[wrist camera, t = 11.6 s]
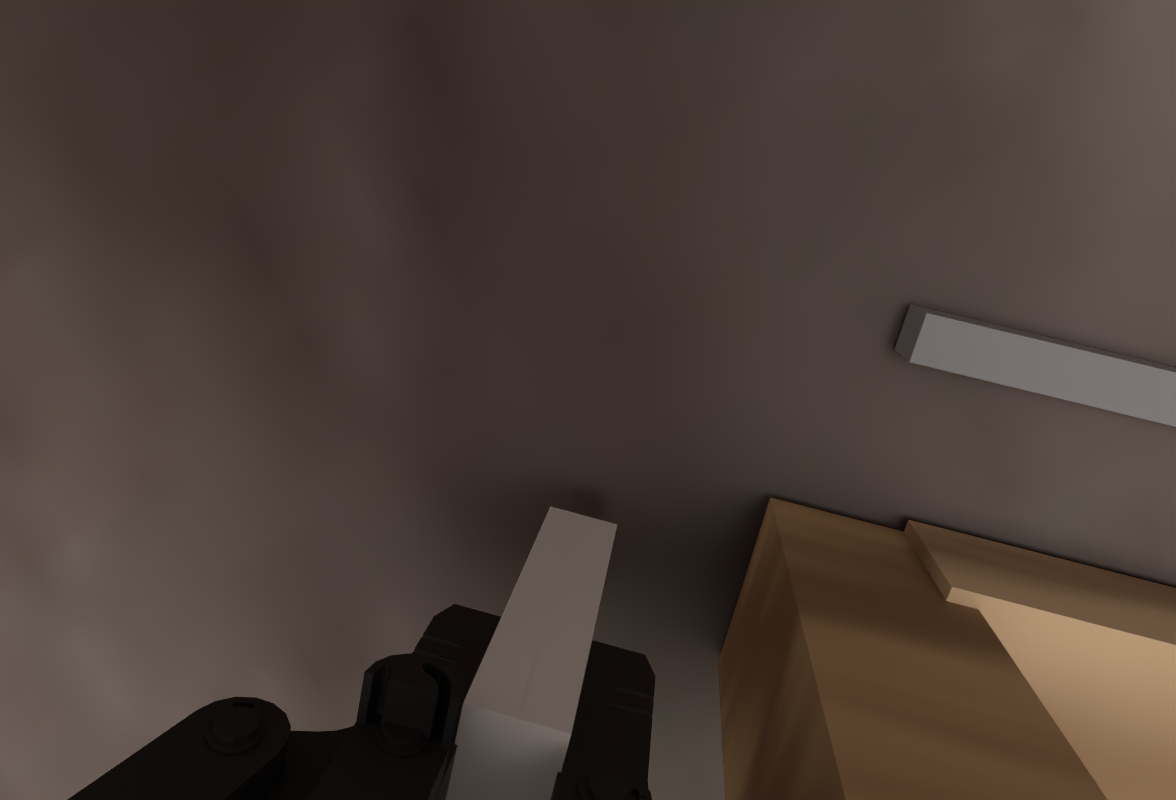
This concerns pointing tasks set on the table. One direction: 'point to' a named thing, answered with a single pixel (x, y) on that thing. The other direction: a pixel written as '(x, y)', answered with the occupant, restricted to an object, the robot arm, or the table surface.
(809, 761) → the yellow l-shaped block
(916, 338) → the channel
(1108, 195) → the table surface
